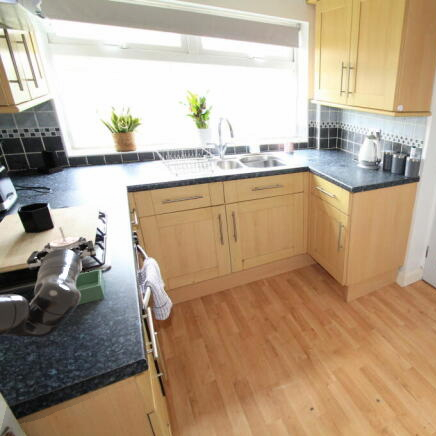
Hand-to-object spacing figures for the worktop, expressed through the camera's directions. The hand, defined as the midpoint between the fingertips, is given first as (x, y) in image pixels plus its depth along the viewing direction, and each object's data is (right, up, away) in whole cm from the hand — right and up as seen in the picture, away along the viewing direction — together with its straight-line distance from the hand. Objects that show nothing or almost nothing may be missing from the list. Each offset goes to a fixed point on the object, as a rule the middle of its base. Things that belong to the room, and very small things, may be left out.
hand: (66, 243), depth 89 cm
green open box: (0, -16, +7) cm, 17 cm away
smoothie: (+1, -8, +1) cm, 9 cm away
